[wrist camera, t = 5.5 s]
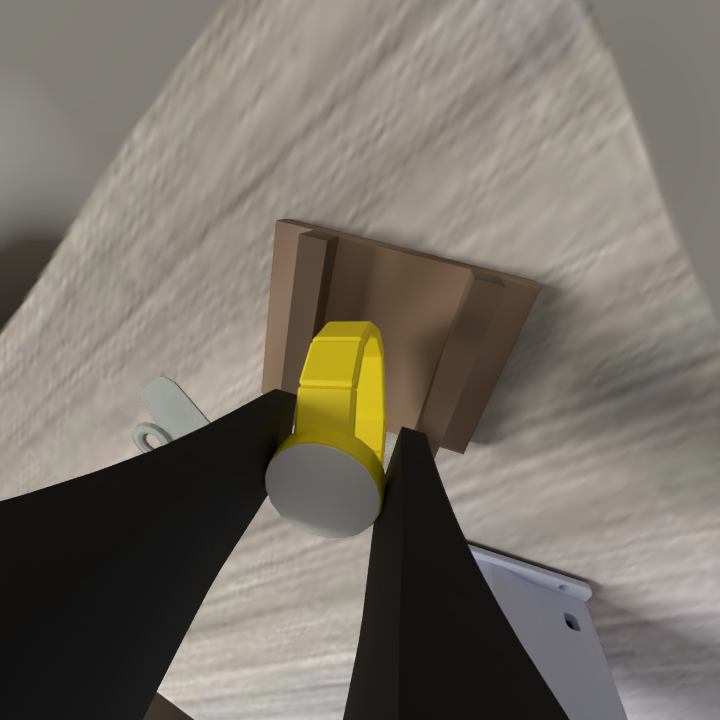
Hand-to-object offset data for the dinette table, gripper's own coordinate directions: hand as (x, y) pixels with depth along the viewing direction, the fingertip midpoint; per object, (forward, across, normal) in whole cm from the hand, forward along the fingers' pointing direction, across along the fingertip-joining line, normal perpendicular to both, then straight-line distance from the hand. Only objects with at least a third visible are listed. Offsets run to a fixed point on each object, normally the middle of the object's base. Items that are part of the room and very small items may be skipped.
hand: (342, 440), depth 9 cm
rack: (+7, 0, 0) cm, 7 cm away
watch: (+4, 0, +1) cm, 4 cm away
